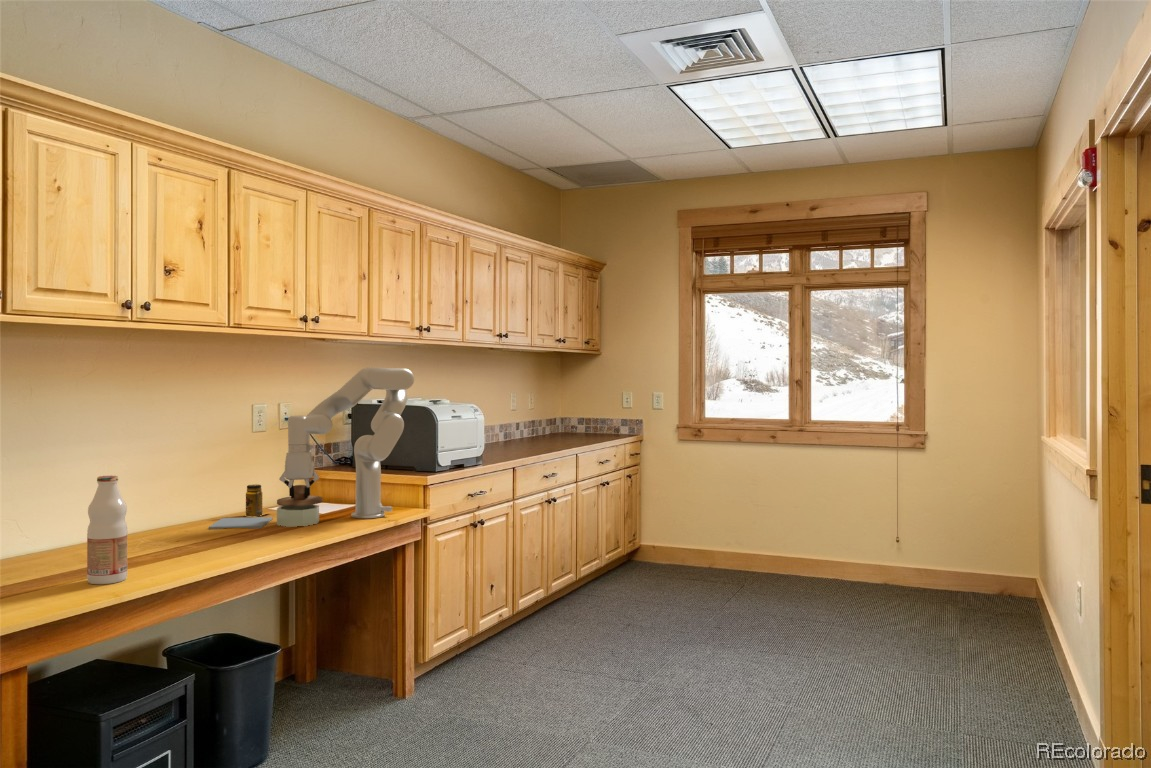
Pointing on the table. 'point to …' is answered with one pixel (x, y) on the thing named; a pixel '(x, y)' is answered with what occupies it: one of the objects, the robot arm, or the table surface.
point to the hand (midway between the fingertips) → (299, 497)
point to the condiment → (253, 500)
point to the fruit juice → (107, 534)
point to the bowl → (297, 515)
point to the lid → (299, 498)
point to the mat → (241, 522)
